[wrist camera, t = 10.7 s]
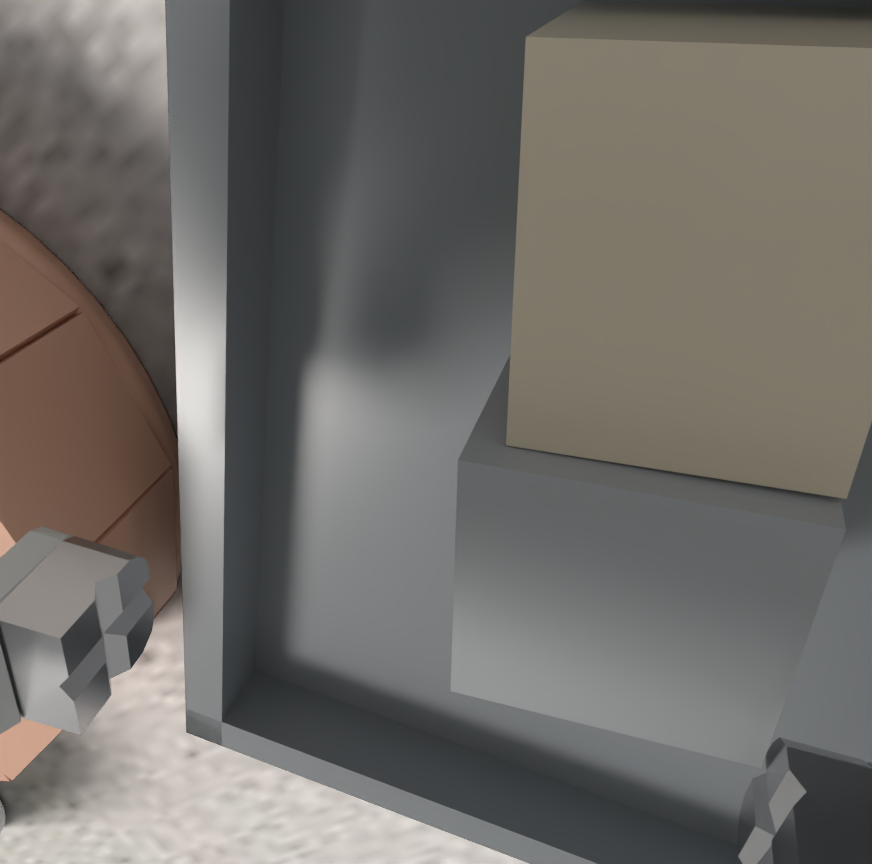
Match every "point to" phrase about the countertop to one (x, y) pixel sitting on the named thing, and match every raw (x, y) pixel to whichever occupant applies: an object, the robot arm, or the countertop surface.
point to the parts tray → (398, 432)
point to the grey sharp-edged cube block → (633, 592)
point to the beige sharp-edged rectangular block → (697, 241)
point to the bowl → (77, 435)
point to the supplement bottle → (2, 816)
